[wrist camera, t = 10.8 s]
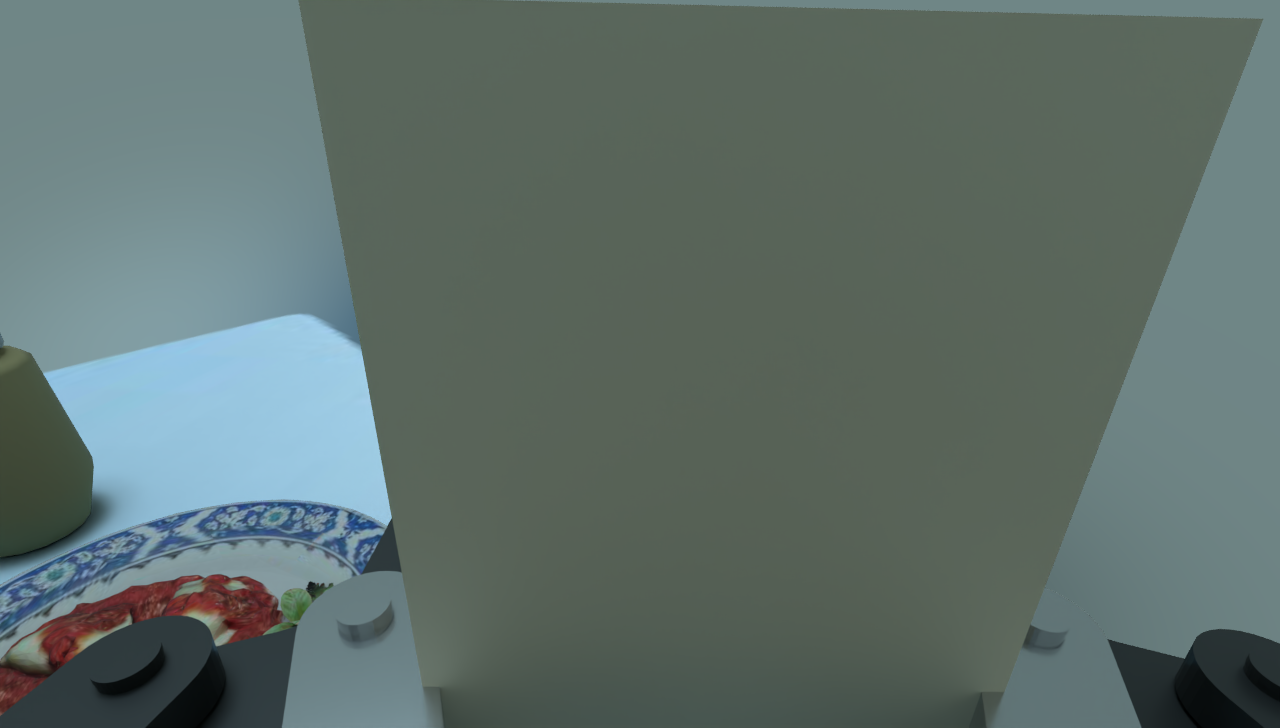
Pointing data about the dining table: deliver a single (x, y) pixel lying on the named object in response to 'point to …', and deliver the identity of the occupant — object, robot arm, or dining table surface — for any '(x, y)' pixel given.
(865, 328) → the carton
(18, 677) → the ceramic plate
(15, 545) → the squeeze bottle
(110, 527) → the dining table surface
